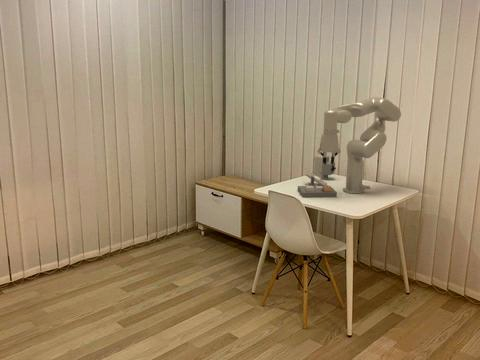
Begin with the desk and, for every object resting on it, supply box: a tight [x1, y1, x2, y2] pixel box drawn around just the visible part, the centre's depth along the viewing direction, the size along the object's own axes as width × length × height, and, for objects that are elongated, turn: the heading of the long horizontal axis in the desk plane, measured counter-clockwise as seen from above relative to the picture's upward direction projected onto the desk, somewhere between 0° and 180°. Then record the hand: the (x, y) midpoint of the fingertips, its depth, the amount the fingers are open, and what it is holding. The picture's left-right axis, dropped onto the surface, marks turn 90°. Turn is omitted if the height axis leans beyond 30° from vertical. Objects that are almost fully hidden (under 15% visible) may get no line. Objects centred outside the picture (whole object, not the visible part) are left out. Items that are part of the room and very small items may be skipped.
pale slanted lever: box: [305, 171, 328, 186], centre depth 303 cm, size 8×6×14 cm
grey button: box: [305, 185, 315, 192], centre depth 276 cm, size 4×4×3 cm
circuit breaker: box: [312, 154, 337, 181], centre depth 319 cm, size 8×14×15 cm, turn 57°
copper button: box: [321, 185, 333, 192], centre depth 276 cm, size 4×4×3 cm
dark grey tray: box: [297, 185, 338, 199], centre depth 281 cm, size 20×16×3 cm
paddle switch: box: [307, 176, 317, 188], centre depth 284 cm, size 4×4×6 cm
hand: (328, 163), depth 273 cm, fingers open, 3 cm apart
